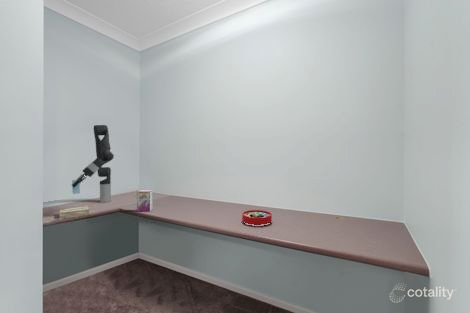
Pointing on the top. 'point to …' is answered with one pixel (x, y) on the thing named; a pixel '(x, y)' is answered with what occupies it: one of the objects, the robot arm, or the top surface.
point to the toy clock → (256, 217)
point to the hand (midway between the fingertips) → (72, 186)
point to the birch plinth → (74, 212)
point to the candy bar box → (144, 200)
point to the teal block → (76, 188)
